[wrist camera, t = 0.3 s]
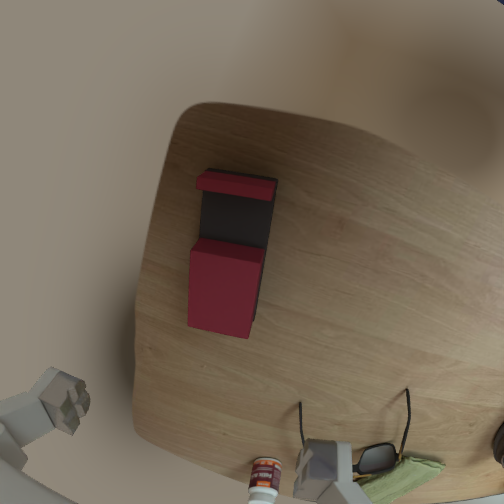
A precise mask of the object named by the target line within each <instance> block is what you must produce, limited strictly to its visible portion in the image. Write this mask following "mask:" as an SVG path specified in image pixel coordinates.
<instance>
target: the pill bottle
mask: <svg viewBox="0 0 504 504" xmlns="http://www.w3.org/2000/svg"><path fill="white" fill-rule="evenodd" d="M281 468H282V464H281V462H280V461H278V460H276V459H273V458H258V459H256V460H255V461H254V465H253V469H252V474H251V479H250V484H249V488H248V492H249V494H250V496H249V501H248V503H249V504H274V502H275V497H276V496H277V495H278V490H279V483H280V476H281Z"/></svg>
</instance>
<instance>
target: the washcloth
mask: <svg viewBox="0 0 504 504" xmlns="http://www.w3.org/2000/svg"><path fill="white" fill-rule="evenodd" d="M445 466H446V465H445V464H441V462H435V461H431V460H426V459H421V458H413V457H411V456H410V457H403V456H401V459H400V462H396V464H395V468H394V469H392V470H391V471H388V472H385V473H381V474H376V475H371V476H366V477H363V478H362V479H360V480H358V481H357V483H358V485H359V486H360V487H361V489H362V490H363V491H364V492H365V494H366V495H367V496H368V498H369V499H370V500H371V502H372V503H374V504H389V503H390V502H392V501H394V500H395V499H396V498H398V497H401V496H403V495H405V494H407V493H408V492H410V491H412V490H413V489H415V488H417V487H418V486H420V485H422V484H424V483H425V482H427V481H429V480H431V479H433V478H434V477H436V476H437V475H438V474H439V473H440V472H441V471H442V470H443V469H444V468H445Z"/></svg>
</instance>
